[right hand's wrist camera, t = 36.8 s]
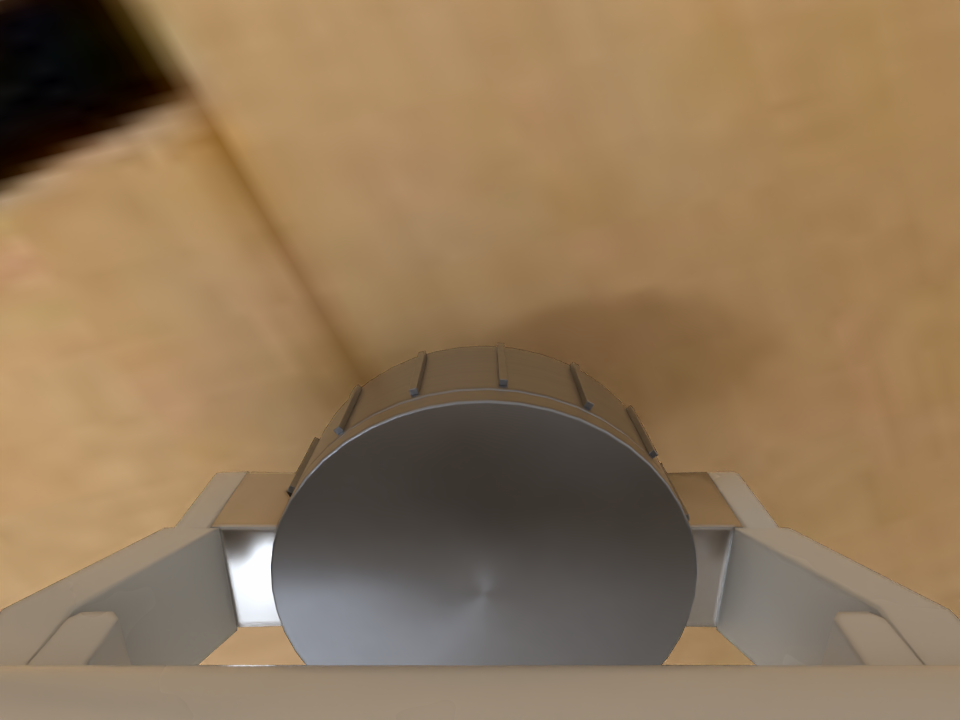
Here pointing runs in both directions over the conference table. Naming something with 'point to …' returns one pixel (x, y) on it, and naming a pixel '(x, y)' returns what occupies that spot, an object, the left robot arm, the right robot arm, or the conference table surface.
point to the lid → (483, 523)
